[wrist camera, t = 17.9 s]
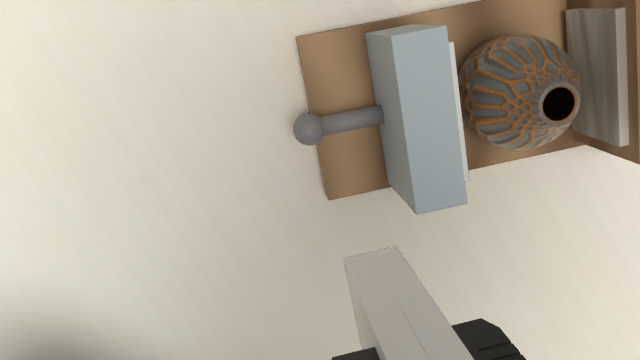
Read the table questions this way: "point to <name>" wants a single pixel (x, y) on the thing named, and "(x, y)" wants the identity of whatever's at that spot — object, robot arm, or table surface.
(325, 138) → the vise base
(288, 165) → the table surface
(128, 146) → the table surface
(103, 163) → the table surface
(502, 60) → the vase
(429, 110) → the jaw
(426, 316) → the robot arm
